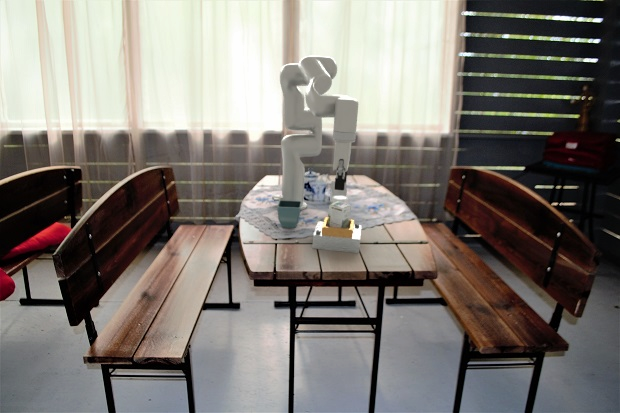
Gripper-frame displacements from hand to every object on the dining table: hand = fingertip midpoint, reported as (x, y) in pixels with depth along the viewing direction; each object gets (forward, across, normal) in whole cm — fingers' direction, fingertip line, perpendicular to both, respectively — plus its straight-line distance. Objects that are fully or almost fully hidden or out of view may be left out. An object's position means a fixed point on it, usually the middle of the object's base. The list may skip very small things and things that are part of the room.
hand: (340, 185), depth 154 cm
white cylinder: (+22, -33, -2) cm, 40 cm away
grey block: (+22, -48, -4) cm, 53 cm away
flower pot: (+22, -12, -20) cm, 32 cm away
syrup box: (+21, 0, 0) cm, 21 cm away
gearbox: (+21, +1, 0) cm, 21 cm away
